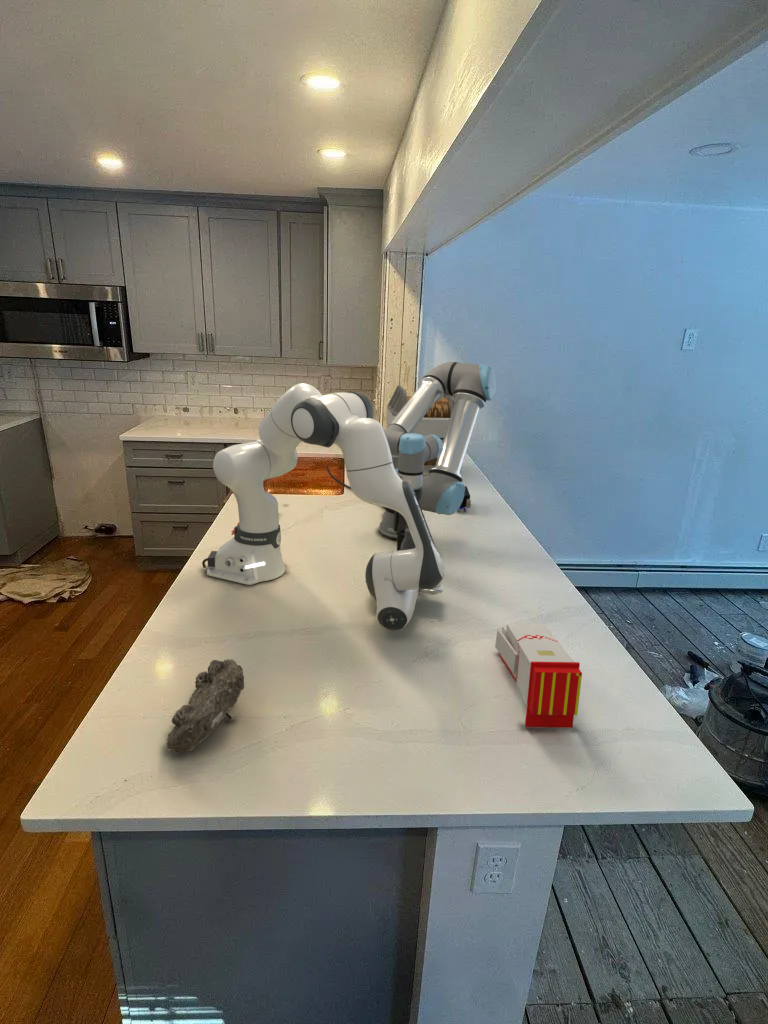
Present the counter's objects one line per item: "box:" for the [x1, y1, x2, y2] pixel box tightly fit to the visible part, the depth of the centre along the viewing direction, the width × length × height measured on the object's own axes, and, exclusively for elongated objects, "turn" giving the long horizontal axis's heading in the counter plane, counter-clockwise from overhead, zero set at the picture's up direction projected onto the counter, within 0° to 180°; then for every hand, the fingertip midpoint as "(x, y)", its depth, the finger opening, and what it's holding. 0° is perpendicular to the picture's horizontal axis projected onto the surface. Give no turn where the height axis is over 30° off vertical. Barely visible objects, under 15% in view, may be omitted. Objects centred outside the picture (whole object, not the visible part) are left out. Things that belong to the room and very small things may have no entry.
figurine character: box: [456, 485, 472, 513], centre depth 228 cm, size 7×8×15 cm
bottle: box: [400, 528, 416, 550], centre depth 158 cm, size 5×5×18 cm
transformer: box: [385, 384, 462, 475], centre depth 268 cm, size 34×33×41 cm
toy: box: [494, 623, 583, 729], centre depth 120 cm, size 12×13×30 cm
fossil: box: [166, 658, 245, 754], centre depth 106 cm, size 22×10×15 cm
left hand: (409, 566), depth 159 cm, fingers closed on bottle, 5 cm apart
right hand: (404, 558), depth 176 cm, fingers closed on cap, 4 cm apart
